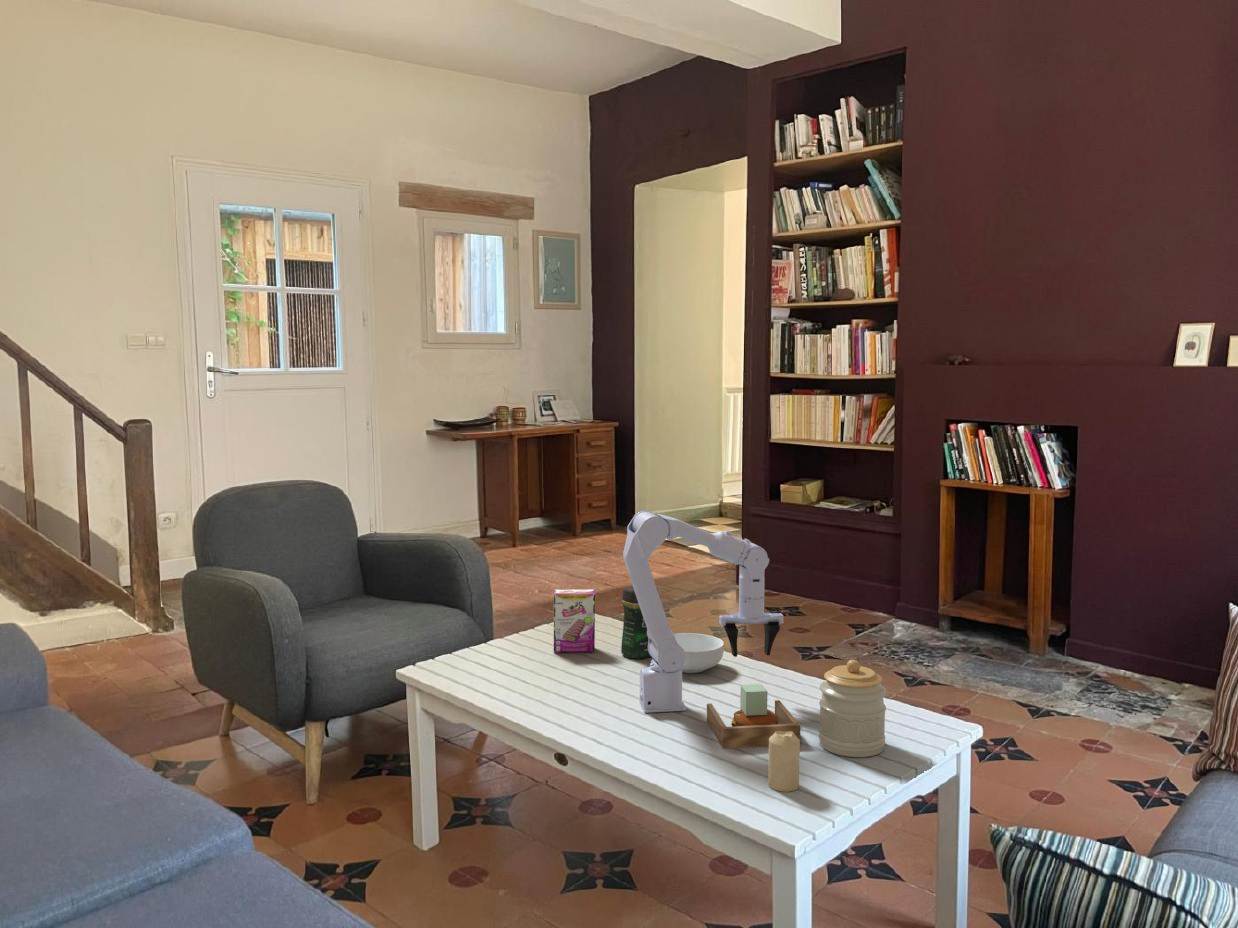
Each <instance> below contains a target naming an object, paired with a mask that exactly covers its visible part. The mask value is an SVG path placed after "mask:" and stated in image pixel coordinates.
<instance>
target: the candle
mask: <svg viewBox="0 0 1238 928" xmlns="http://www.w3.org/2000/svg"><path fill="white" fill-rule="evenodd" d="M800 748H801V739H800V740H799V739H798V738H797V737H796V735H795V734H794V733H793V732H791V731H788V732H782V731H776V732H775V733H774V734H773V735H772V736H771V737H770V738H769V746H768V769H767V770H768V771H767V772H768V773H767V774H768V779H767V780H768V781H767V782H768V783H767V785H768V786H769V788H770V789H772V790H775V791H776V792H777V791H778V792H781V793H782V792H783V793H784V792H785V793H786V792H787V793H789V792H794V791H796V790H798V789H799V787H800V762H801V761H800V758H801V757H800V750H801V749H800Z"/></svg>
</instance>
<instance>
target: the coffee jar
mask: <svg viewBox="0 0 1238 928" xmlns="http://www.w3.org/2000/svg"><path fill="white" fill-rule="evenodd" d="M657 591H658V592H659V589H657ZM621 604H622V606H623V607H622V608H623V626H622V627H623V628H622V636H621V647H620V648H621V650H620V651H621V652H620V653H621V654H622V655H623V656H625V657H626V658H629V659H630V658H631V659H644V658H650V657H651V655H650V654H649V652H648V642H649V641H648V636H647V627H646V624H645V621H644V618H643V615H642V612H641V609H640V606H639V603H638V600H637V597H636V594H635V591H634V588H633V586H632V587H625V588H624V589H623V590H622V596H621Z"/></svg>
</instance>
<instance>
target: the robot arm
mask: <svg viewBox="0 0 1238 928" xmlns="http://www.w3.org/2000/svg"><path fill="white" fill-rule="evenodd" d="M626 528H627V530H626V531H627V532H626V537H625V538H626V540H625V544H624V548H623V553H622V556H623V557H622V558H623V561H624V565H625V567H626V571H627V573H628V576H629V579H630V582H631V585H632V587H633V588H634V591H635V594H636V597H637V600H638V603H639V606H640V609H641V612H642V615H643V618H644V621H645V624H646V627H647V636H648V641H649V642H648V652H649V654H650V655H651V656H650V657H652V658H651V661H650V664H649V666H648V667H643V668H640V671H639V703H640V705H641V708H642V710H643V712H644V713H645V714H647V713H666V712H686V711H687V710H688V709H687V706H686V705H685V703H684V702H683V672H682V665H683V663H684V661H685V652H684V650H683V648H682V647H681V646H680V645H679V644H678V643H677V641H676V638H675V636H674V634H675V633H674V632H673V631H672V628H671V627H670V624H669V621H668V618H667V615H666V612H665V609H664V606H663V603H662V600H661V597H660V594H659V590H658V588H657V585H656V581H655V580H654V576H653V574H652V571H651V567H650V565H649V562H648V561H649V559H650V557H651V556H652V554H653V552H654V551H655V550H656V549H657V548H658V547H660V545H662V544H664V542H665V541H666V539H667V540H668V541H672V540H674V539H676V538H682V539H683V540H686V541H690V542H691V543H692V542H693V543H695V544H697V545H701V546H705V547H707V549H708V552H709V553H710V554H711V556H714V557H716V558H719V559H721V560H724V561H727V562H729V563H731V564H734V565H739V569H738V570H739V576H738V578H739V579H738V613H737V612H736V613H730V614H721V615H719V616H718V618H719V619H718V620H719V621H718V622H719V623H718V624H719V625H720V626H721V627H723V629H724V631H725V633H726V635H727V639H728V641H729V646H730V650H731V655H732V656H733V657H734V658H736V657H738V635H739V629H738V628H737V625H753V624H756V625H757V624H758V625H759V624H763V629H764V645H763V646H764V649H763V650H764V654H765V655H766V656H771V651H772V648H773V644H774V642H775V639H776V637H777V635H778V633H779V632H780V630H781V625H780V624H784V615H783V614H782V613H779V612H778V613H777V612H765V579H766V578H765V571H766V570H765V569H766V568H767V567H768V565H769V563H770V558H769V557H768V553H767V551H766V549H764V548H763V547H762V546H759V545H757V544H755V543H753V542H752V541H751V540H750V539H748V538H743V539H742V538H740V537H738V536H734V535H732V534H733V533H732V532H731V531H729V530H724V531H722V530H718V531H716V532H714V533H711V532H708V531H706V530H703V529H702V528H699V527H696V526H694V525H692V524H689V523H687V522H685V521H682V520H680V519H677V518H675V517H671V516H668V515H664V514H662V513H661V514H660V513H656V514H655V513H653V512H652V511H650V510H641V511H639V512H637V513H635V514H634V515H633V517H632V519H631V520H630V522H629V524H628V525H627V527H626ZM657 590H658V591H657Z"/></svg>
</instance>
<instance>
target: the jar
mask: <svg viewBox="0 0 1238 928" xmlns="http://www.w3.org/2000/svg"><path fill="white" fill-rule="evenodd" d="M823 677H824V679H825V680H824V681H822V682H821V683H820V684H819V690H820V691H821V699H820V700H819V702H818V703H819V730H818V738H819V744H820V746H821V747H822V748H823V749H825V750H826V751H827V752H830V753H832V754H835V755H839V756H842V757H848V758H849V757H850V758H868V757H869V758H870V757H873V756H877V755H879V754H880V753H882V752H883V751H884V747H885V744H886V735H885V729H886V728H885V727H886V725H885V723H886V711H887V707H886V704H885V703H884V697H885V696H887V689H886V688H885V687H884V686H883V685H882V682H883V678H882V676H881V675H880V674H878V673H877V672H875V670H873V669H871V668H869V667H866V666H862V665H861V664H860V662H859V660H855V659H850V660H848V661H847V662H846V664H845V665H844V664H843V665H838V666H833V668H831V669H830V670H829V669H828V670H827V671H826V672H825V673H824V675H823Z"/></svg>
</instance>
